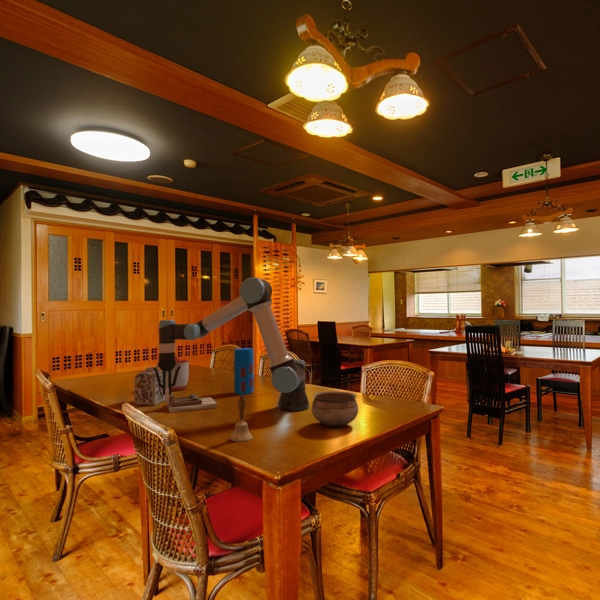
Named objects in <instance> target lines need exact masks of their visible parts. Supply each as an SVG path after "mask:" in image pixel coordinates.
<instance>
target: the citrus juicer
mask: <svg viewBox="0 0 600 600" xmlns="http://www.w3.org/2000/svg"><path fill="white" fill-rule="evenodd" d="M189 361H190V360H189V359H181V358H179V357H178V356H177V355H175V362H176V364H177V365H179V366H181V368H180V370H179V372H178V376H177V380H176V384H175V386H173V387H171V392H174V391H181V390H182V391H183V390H185V389H186V388H187V386H188V385H187V384H188V382H189V366H190V365H189V364H190V363H189ZM175 367H176V366H175ZM175 367H174V368H173V370H172V371H171V384H172V382H173V378H174V374H175V370H176V369H175ZM166 387H168V371H166Z"/></svg>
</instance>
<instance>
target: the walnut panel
mask: <svg viewBox="0 0 600 600" xmlns="http://www.w3.org/2000/svg"><path fill="white" fill-rule="evenodd" d="M196 397H198V399H196V401H193V399H191V397H190V395H188V396H179V397H175V394H174V392H171V394H169V402H170V405H171V407H173V406H183V405H194V404H202V400H201V399H200V398H201V397H199V395H196Z"/></svg>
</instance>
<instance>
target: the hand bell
mask: <svg viewBox="0 0 600 600" xmlns="http://www.w3.org/2000/svg"><path fill="white" fill-rule="evenodd" d="M237 402H238V405H237V406H238V411H239V417H238V418H239V419H238V422H236V423H235V424H234V431H233V433H232V434H231V436H230V437H229V440H230V441H232V442H237V443H239V442H240V443H241V442H248V441H251V440H252V439H253V438H254V437H253V435H252V434H251V433H250V431H249V426H248V422H246V421H245V409H246V399H245V395H239V398H238V401H237Z"/></svg>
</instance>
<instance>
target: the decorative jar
mask: <svg viewBox="0 0 600 600" xmlns="http://www.w3.org/2000/svg"><path fill="white" fill-rule="evenodd" d="M153 367H154V366H148V367H145V370H142V371H139V372H138V373H137V374H136V376H134V383H133V384H134V387H133V390H134V391H133V400H134V401H133V403H134V405H142V406H145V405H146V406H156V405H158V404H161V403H163V402H165V395H163V388H162V387H159V385H158V381H157V377H156V373H155V371H154V370H153ZM158 373H159V377H160V381H161V384H162V385H163V371H162V370H161V369H158Z"/></svg>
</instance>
